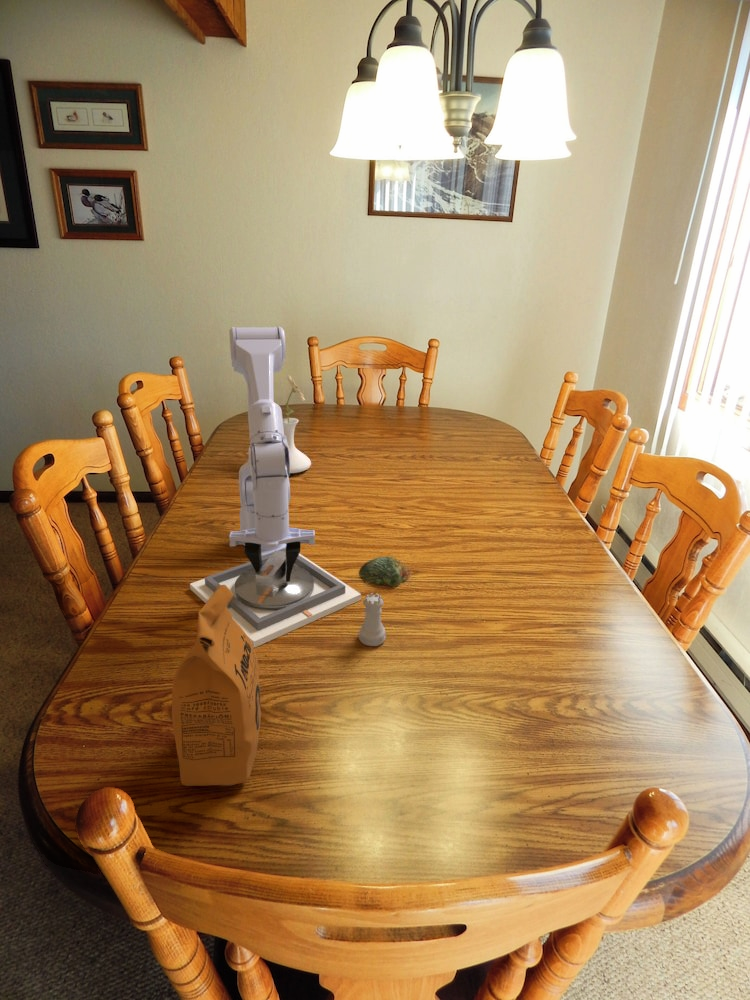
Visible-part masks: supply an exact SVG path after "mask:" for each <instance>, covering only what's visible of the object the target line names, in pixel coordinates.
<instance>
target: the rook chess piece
mask: <svg viewBox="0 0 750 1000" xmlns="http://www.w3.org/2000/svg"><path fill="white" fill-rule="evenodd" d="M362 602H363V603H362V604H363V606H364V607H365V608H364V613H365V617H364V621H363V624H362V625H361V626H360V628H359V632H358V633H359V634H358V639H359V641H360V643H362V644H364V646H368V647H378V646H380V645H382V644H383V643H384V642H385V641H386V638H387V636H386V629H385V627H384V625H383V623H382V617H381V616H382V615H381V614H382V612H383V610H382V607H383V606H384V604H385V603H384V600H383V599H382V595H379V593H375V594H374V593H373V592H372V593H371V592H370V593H369V594H367V595H365V598H364V600H363V601H362Z"/></svg>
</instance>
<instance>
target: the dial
mask: <svg viewBox="0 0 750 1000" xmlns="http://www.w3.org/2000/svg"><path fill="white" fill-rule="evenodd" d="M286 569H287V566H286V552H284V551H282V550H280V551H277V550H275V551H274V553H272V555H271V556H270V558H269V559H268V560H267V561H266V562H265V564H264V565H262V567H261V569H260V570H259V571H258V572H257V573H256V572H255V569H254V567H253V568H251V569H249V570H247V571H245V572H244V573H242V574H241V575H240V576H239V577H238V578H237V580H236V582H235V594H236V596H237V598H238V599H239V600H240V601H241V602H242V603H244V604H246V605H248V606H251V607H254V608H259V609H283V608H285V607H287V606H290V605H292V604H295V603H297V602H299V601H302V600H304V599H306V598H308V597H309V596H310V595H311V594H312V592H313V590H314V579H313V577H312V575H311V574H310V573H309V572H308V571H307V570H305V569H303V568H301V567H299V566H296V565H294V566H293V568H292V572H291V576H290V582H286Z"/></svg>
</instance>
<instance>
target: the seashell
mask: <svg viewBox="0 0 750 1000" xmlns="http://www.w3.org/2000/svg"><path fill="white" fill-rule="evenodd" d="M358 574H359V577H360V578H361V579H362V580H363V581H364V582H365V583H368V584H371V585H377V586H388V587H391V588H397V587H398V586H399V585H400V584H401V583H404V582H406V581H408V580H409V579H411V576H412V573H411V572H410V570H409V569H408V566H407V567H406V566H405V564H404V563H402V562H401V561H400V560H399V559H397V558H394V557H391V556H379V557H376V558H373V559H370V560H369V561H366V562H365V563H364V564H362V566H360V569H359V571H358Z"/></svg>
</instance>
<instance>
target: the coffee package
mask: <svg viewBox="0 0 750 1000" xmlns="http://www.w3.org/2000/svg"><path fill="white" fill-rule="evenodd" d="M232 597H233V593H232V592H231V591H230V590H229V588H228V587H227V586H226V585H219V587H218V588H217V589H216V591H215V592H214V594H213V595H212V596H211V597H210V599H209V600H208V601H207V602H206V603H205V604H204V605H203V607H202V608H201V609H200V610H199V611H198V614H197V615H198V617H197V631H196V633H197V634H196V638H195V643H194V644H193V646H192V647H191V648H190V649H189V651H188V652H187V654H186V655H185V656H184V658H183V659H182V660H181V661H180V662H179V665H178V667H177V669H176V672H175V674H174V677H173V679H172V688H171V691H172V692H171V716H172V718H171V719H172V731H173V735H174V741H175V749H176V753H177V758H178V765H179V778H180V783H181V785H183V786H186V787H192V786H195V787H197V786H199V787H201V786H202V787H204V786H205V787H206V786H234V785H236V784H237V785H238V784H243V783H244V784H245V783H247V782H248V780H249V779H250V777H251V774H252V770H253V767H254V762H255V759H256V755H257V749H258V742H259V735H260V727H261V718H262V711H261V686H260V675H259V674H260V672H259V670H260V669H259V660H258V657H257V652H256V651H255V648H254V647H253V644H252V642H251V641H250V639H249V638H248V636H247V635H246V633H245V632H244V631H243V629H242V628H241V627H240V626H239V625H238V624H237V623H236V622H235V621H234V620H233V619H232V616H231V614H230V612H229V610H228V608H227V604H228V603H229V602H230V601H231V599H232Z"/></svg>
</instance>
